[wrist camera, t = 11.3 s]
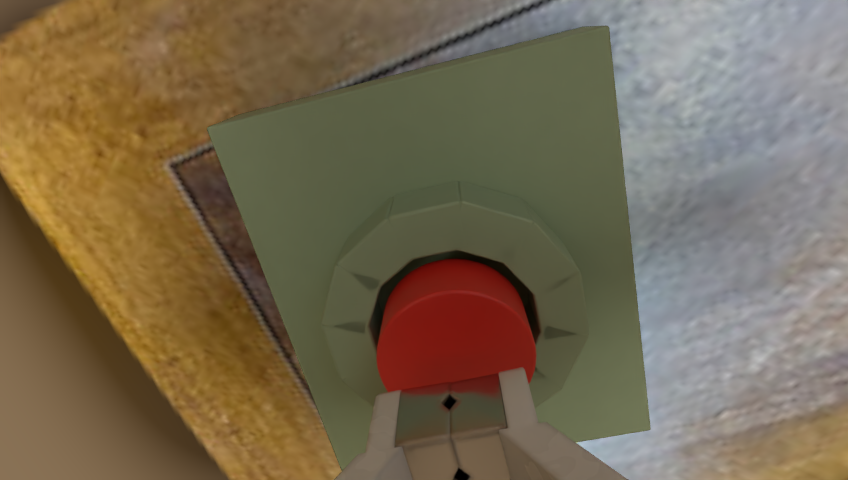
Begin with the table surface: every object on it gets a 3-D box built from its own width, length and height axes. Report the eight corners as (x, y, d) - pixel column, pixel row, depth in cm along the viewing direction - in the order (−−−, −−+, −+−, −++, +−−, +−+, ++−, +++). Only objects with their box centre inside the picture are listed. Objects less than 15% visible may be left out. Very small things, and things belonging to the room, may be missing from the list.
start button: (366, 274, 13) (356, 309, 11) (511, 243, 12) (522, 275, 11) (403, 390, 14) (399, 437, 12) (535, 366, 14) (548, 411, 12)
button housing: (237, 114, 15) (170, 141, 11) (584, 26, 14) (638, 22, 10) (354, 433, 19) (334, 529, 15) (627, 385, 18) (676, 477, 14)
